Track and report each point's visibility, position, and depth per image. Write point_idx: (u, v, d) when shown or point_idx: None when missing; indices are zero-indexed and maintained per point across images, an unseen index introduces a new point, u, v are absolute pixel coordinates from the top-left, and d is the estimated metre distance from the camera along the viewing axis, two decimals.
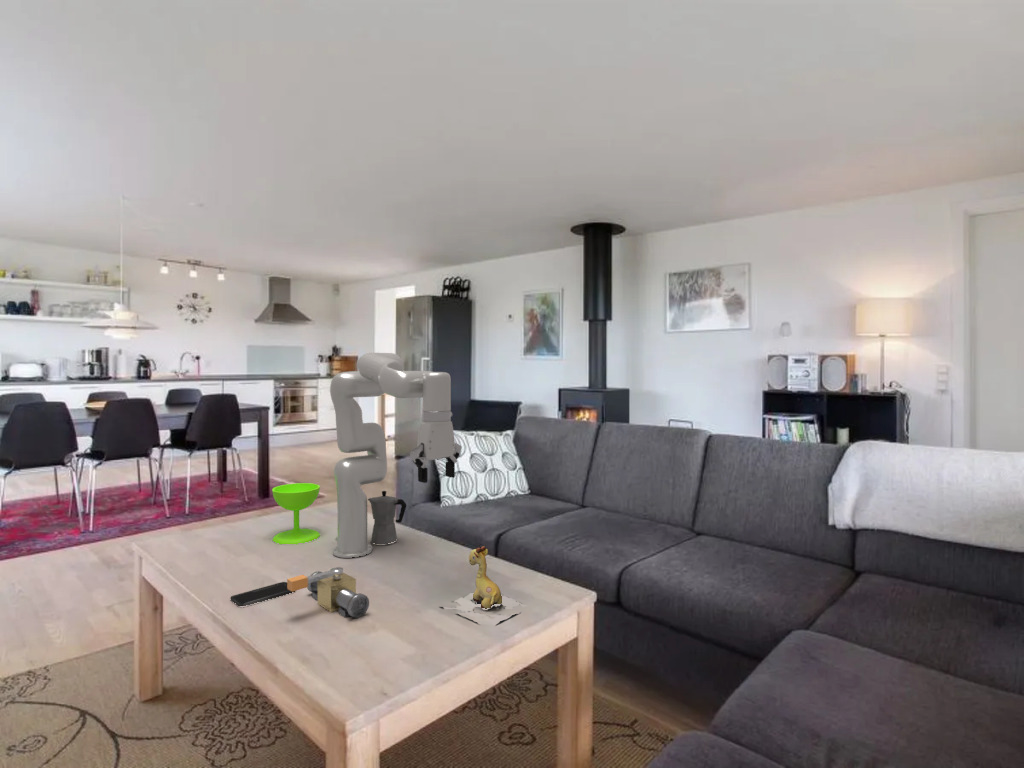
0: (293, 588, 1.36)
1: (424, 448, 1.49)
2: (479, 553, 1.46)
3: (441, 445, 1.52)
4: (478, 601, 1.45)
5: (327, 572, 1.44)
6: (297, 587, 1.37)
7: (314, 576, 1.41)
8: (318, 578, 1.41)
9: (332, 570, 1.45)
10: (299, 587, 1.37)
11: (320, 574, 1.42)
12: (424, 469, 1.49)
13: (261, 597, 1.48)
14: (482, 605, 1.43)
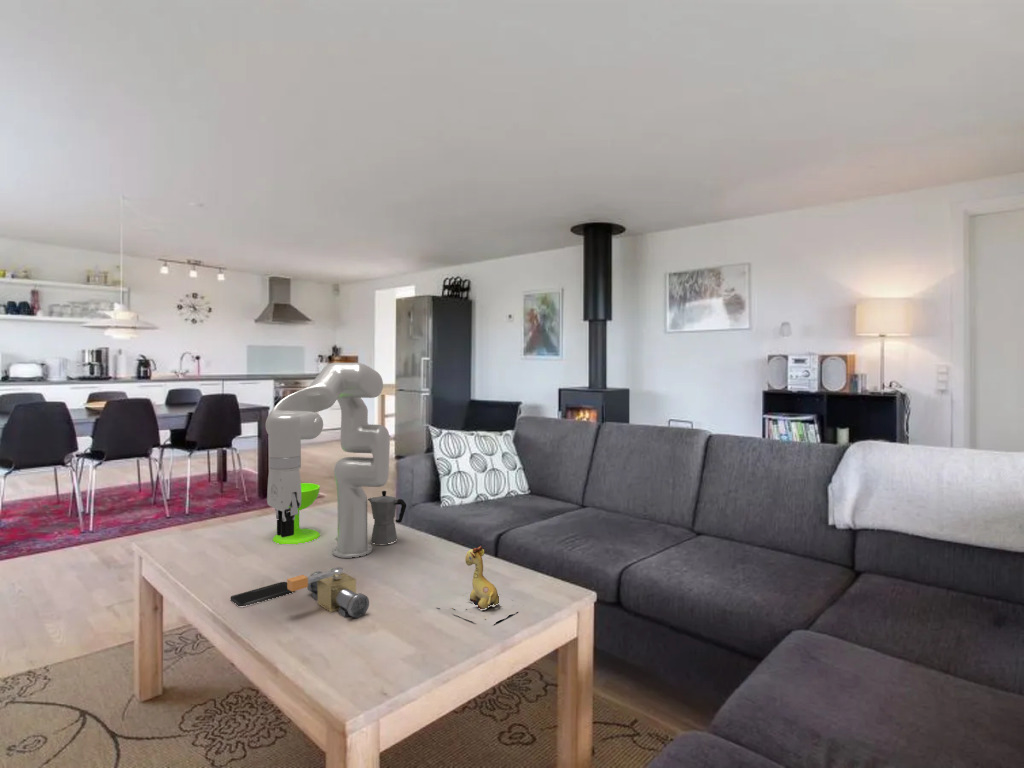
0: (293, 588, 1.36)
1: (297, 497, 1.39)
2: (476, 553, 1.46)
3: None
4: (475, 601, 1.44)
5: (327, 572, 1.44)
6: (297, 587, 1.37)
7: (314, 576, 1.41)
8: (318, 578, 1.41)
9: (332, 570, 1.45)
10: (299, 587, 1.37)
11: (320, 574, 1.42)
12: (292, 521, 1.42)
13: (261, 597, 1.48)
14: (479, 605, 1.43)
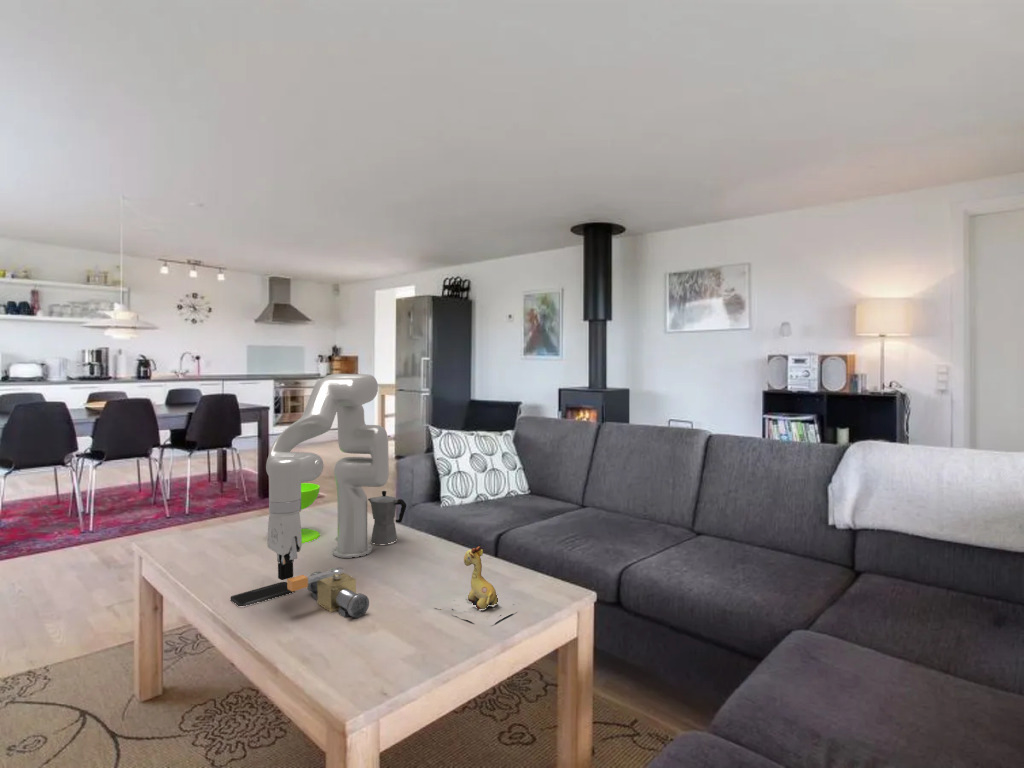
0: (293, 588, 1.36)
1: (298, 541, 1.39)
2: (474, 553, 1.45)
3: None
4: (473, 601, 1.44)
5: (327, 572, 1.44)
6: (297, 587, 1.37)
7: (314, 576, 1.41)
8: (318, 578, 1.41)
9: (332, 570, 1.45)
10: (299, 587, 1.37)
11: (320, 574, 1.42)
12: (291, 563, 1.43)
13: (261, 597, 1.48)
14: (478, 605, 1.42)
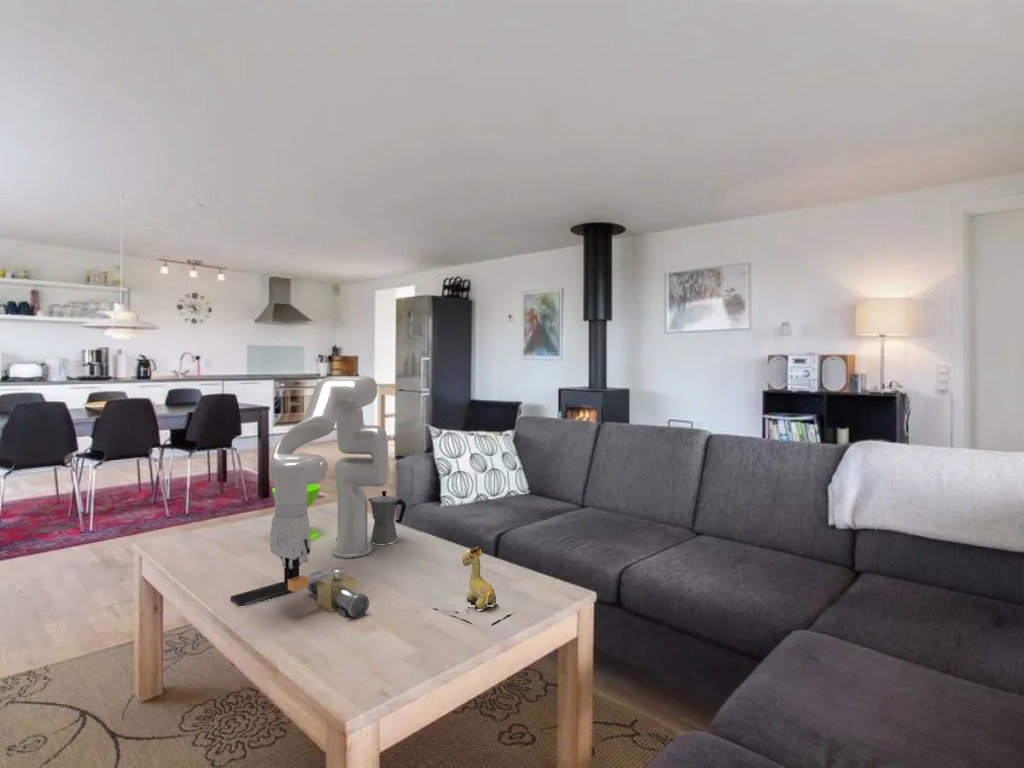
0: (294, 588, 1.36)
1: (308, 543, 1.38)
2: (473, 553, 1.45)
3: None
4: (472, 602, 1.44)
5: (327, 572, 1.44)
6: (298, 587, 1.37)
7: (314, 576, 1.41)
8: (318, 578, 1.41)
9: (332, 570, 1.45)
10: (299, 587, 1.37)
11: (320, 574, 1.42)
12: (297, 567, 1.40)
13: (261, 597, 1.48)
14: (476, 606, 1.42)
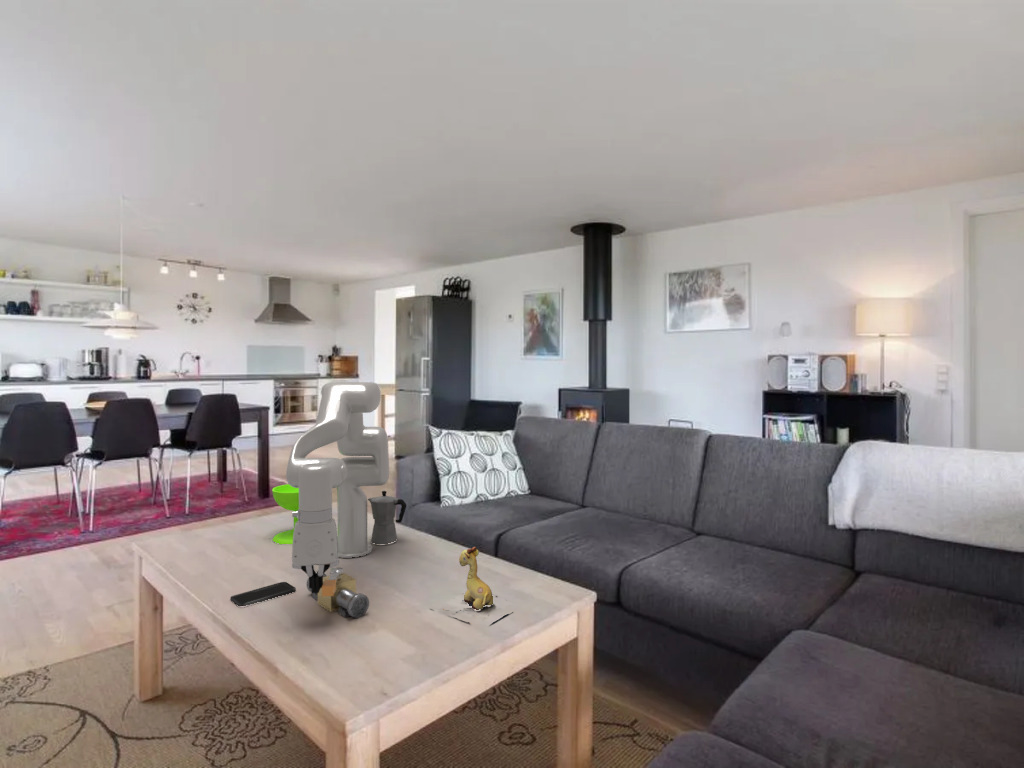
0: (333, 592, 1.34)
1: (338, 545, 1.36)
2: (470, 554, 1.45)
3: None
4: (469, 602, 1.44)
5: (334, 573, 1.43)
6: (334, 590, 1.35)
7: (333, 578, 1.40)
8: (336, 579, 1.40)
9: (335, 571, 1.45)
10: (334, 590, 1.35)
11: (333, 576, 1.41)
12: None
13: (261, 597, 1.48)
14: (474, 606, 1.42)
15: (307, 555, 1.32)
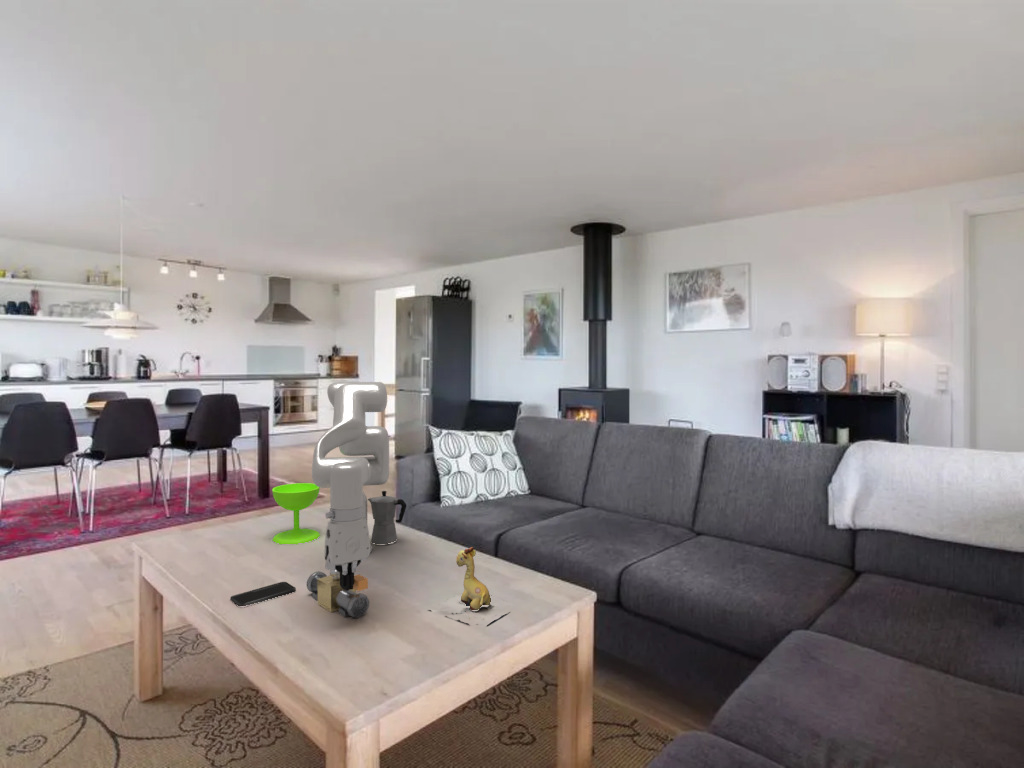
0: None
1: None
2: (467, 554, 1.45)
3: None
4: (467, 602, 1.44)
5: None
6: None
7: None
8: None
9: None
10: None
11: None
12: None
13: (261, 597, 1.48)
14: (471, 606, 1.42)
15: (347, 553, 1.33)
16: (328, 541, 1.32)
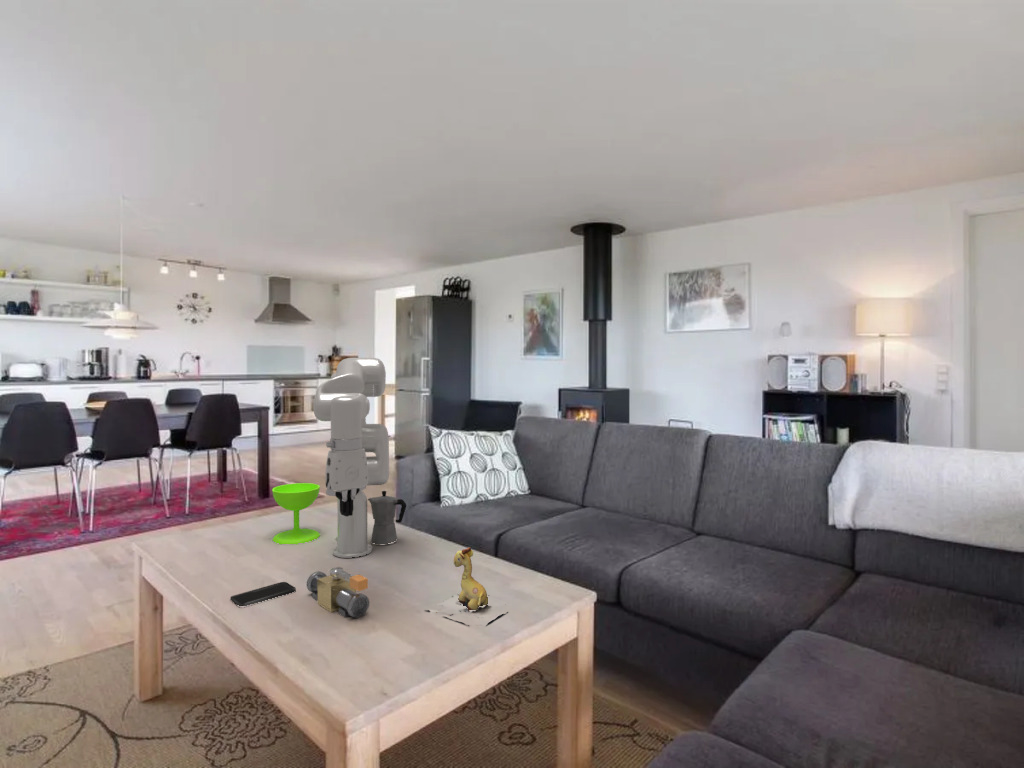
0: None
1: None
2: (465, 554, 1.45)
3: None
4: (464, 603, 1.44)
5: (341, 572, 1.44)
6: None
7: (349, 575, 1.42)
8: None
9: (338, 570, 1.45)
10: None
11: (345, 574, 1.43)
12: None
13: (261, 597, 1.48)
14: (469, 606, 1.42)
15: (346, 480, 1.41)
16: (329, 469, 1.40)
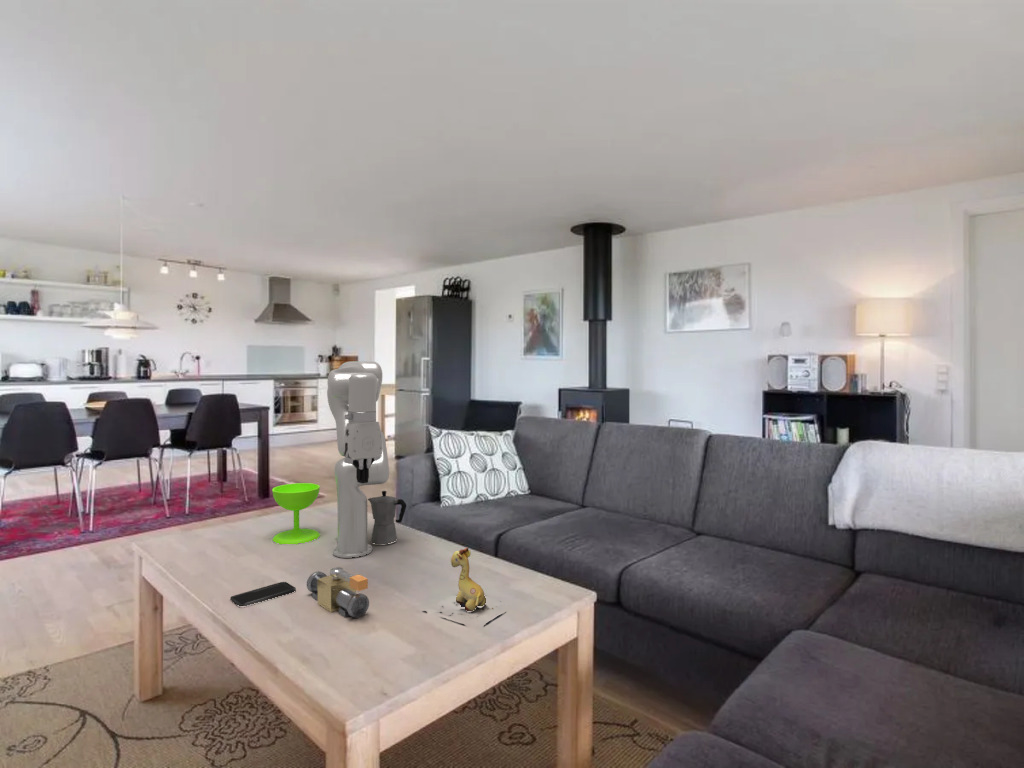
0: None
1: None
2: (462, 555, 1.44)
3: None
4: (462, 603, 1.43)
5: (341, 572, 1.44)
6: None
7: (349, 575, 1.42)
8: None
9: (338, 570, 1.45)
10: None
11: (345, 574, 1.43)
12: None
13: (261, 597, 1.48)
14: (466, 607, 1.42)
15: (363, 450, 1.55)
16: (347, 439, 1.54)
